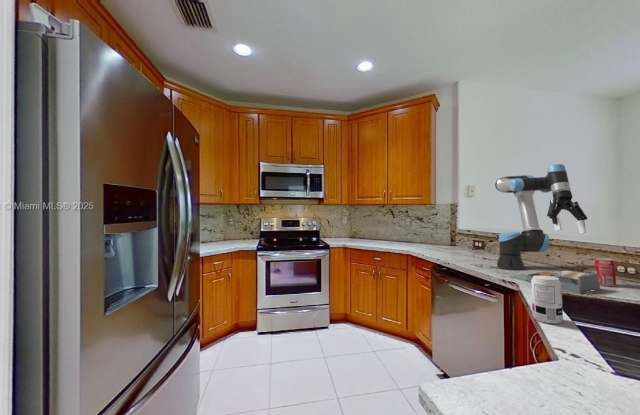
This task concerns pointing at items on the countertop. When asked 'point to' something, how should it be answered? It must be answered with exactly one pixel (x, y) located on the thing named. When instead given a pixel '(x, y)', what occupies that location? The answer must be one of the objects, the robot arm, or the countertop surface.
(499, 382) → the countertop surface
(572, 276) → the maple bar
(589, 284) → the charcoal tray
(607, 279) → the red toy chair
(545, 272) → the lever
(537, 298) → the supplement can
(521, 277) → the green mat
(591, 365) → the countertop surface
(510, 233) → the robot arm
